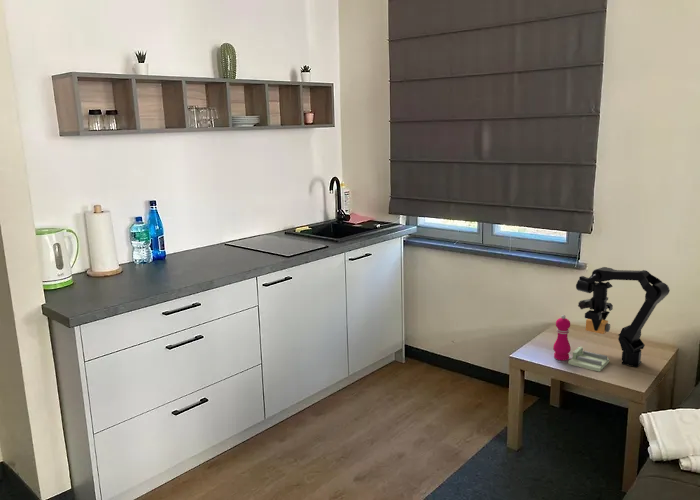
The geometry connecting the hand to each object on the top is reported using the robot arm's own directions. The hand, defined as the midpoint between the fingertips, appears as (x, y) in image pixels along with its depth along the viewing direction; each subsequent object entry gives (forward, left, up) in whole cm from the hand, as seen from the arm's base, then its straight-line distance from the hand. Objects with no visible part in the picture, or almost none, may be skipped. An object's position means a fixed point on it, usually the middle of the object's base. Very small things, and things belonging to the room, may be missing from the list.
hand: (597, 328), depth 261 cm
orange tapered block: (0, 0, -1) cm, 1 cm away
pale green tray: (-2, +14, -11) cm, 18 cm away
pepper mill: (+10, +15, -11) cm, 21 cm away
